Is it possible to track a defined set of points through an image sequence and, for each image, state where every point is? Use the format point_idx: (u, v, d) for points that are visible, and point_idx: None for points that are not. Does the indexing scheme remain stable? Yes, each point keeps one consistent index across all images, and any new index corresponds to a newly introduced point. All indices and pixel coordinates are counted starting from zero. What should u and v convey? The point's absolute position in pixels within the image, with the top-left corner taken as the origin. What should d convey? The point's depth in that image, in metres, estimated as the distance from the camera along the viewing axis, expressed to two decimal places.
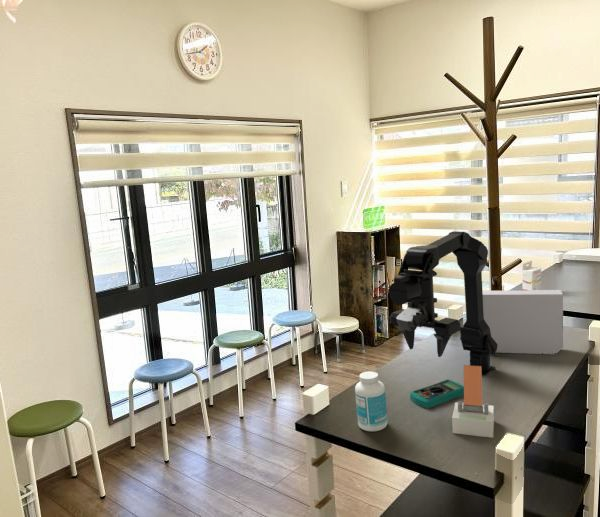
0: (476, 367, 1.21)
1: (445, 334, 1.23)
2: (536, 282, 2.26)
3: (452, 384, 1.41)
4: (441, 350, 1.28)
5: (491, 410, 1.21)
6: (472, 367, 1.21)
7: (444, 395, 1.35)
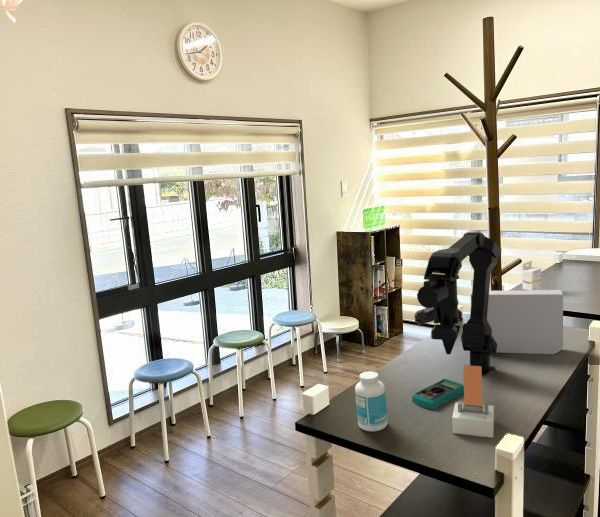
0: (476, 367, 1.21)
1: (431, 337, 1.29)
2: (536, 282, 2.26)
3: (449, 383, 1.42)
4: (446, 348, 1.36)
5: (491, 410, 1.21)
6: (472, 367, 1.21)
7: (446, 394, 1.35)
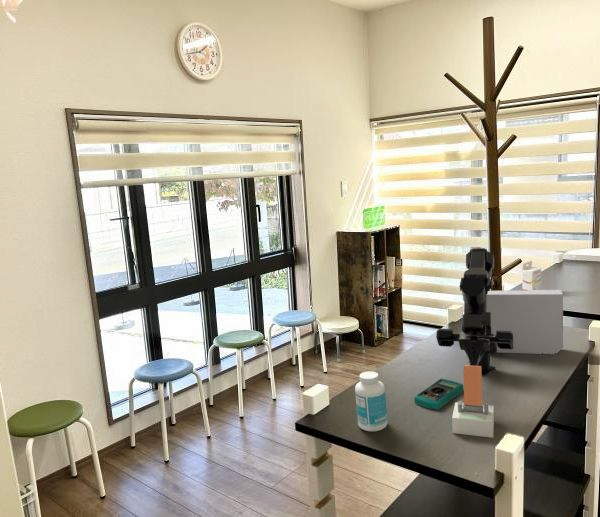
0: (476, 367, 1.21)
1: (510, 338, 1.25)
2: (536, 282, 2.26)
3: (447, 382, 1.43)
4: (477, 362, 1.27)
5: (491, 410, 1.21)
6: (472, 367, 1.21)
7: (448, 394, 1.35)
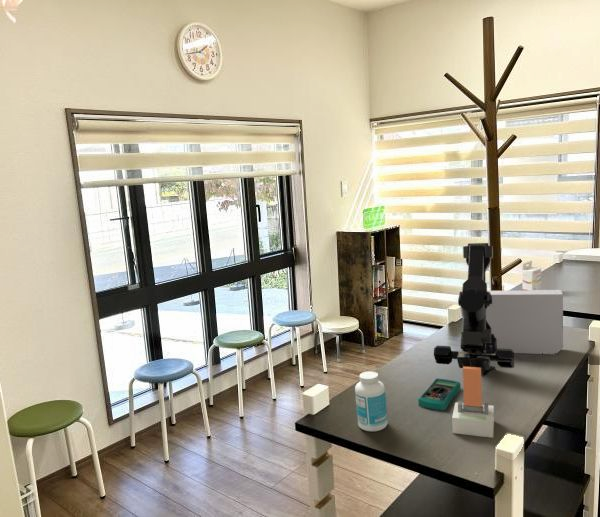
0: (475, 370, 1.19)
1: (511, 356, 1.19)
2: (536, 282, 2.26)
3: (444, 382, 1.43)
4: None
5: (491, 410, 1.21)
6: (471, 370, 1.19)
7: (450, 393, 1.36)
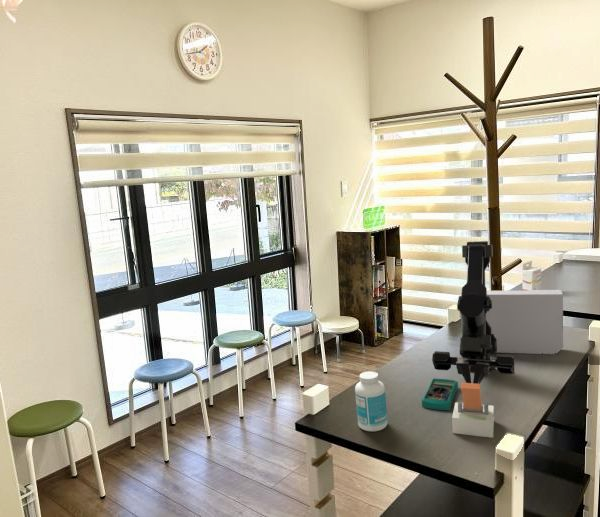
0: (474, 389, 1.14)
1: (511, 363, 1.17)
2: (536, 282, 2.26)
3: (441, 382, 1.44)
4: None
5: (491, 410, 1.21)
6: (470, 389, 1.14)
7: (452, 392, 1.36)
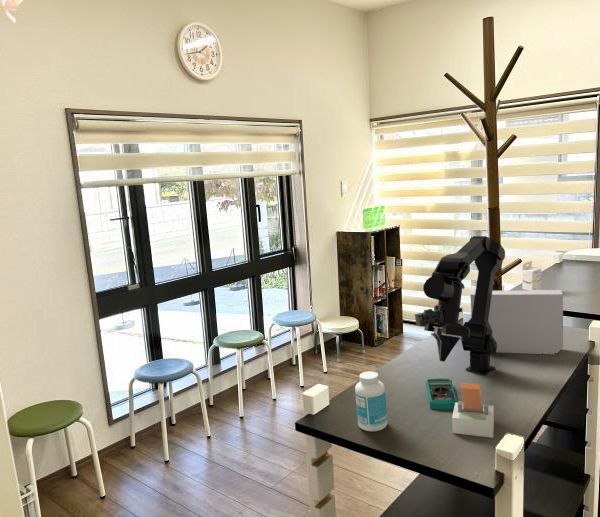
0: (474, 389, 1.14)
1: (445, 332, 1.25)
2: (536, 282, 2.26)
3: (436, 381, 1.44)
4: (442, 354, 1.33)
5: (491, 410, 1.21)
6: (470, 389, 1.14)
7: (453, 391, 1.37)
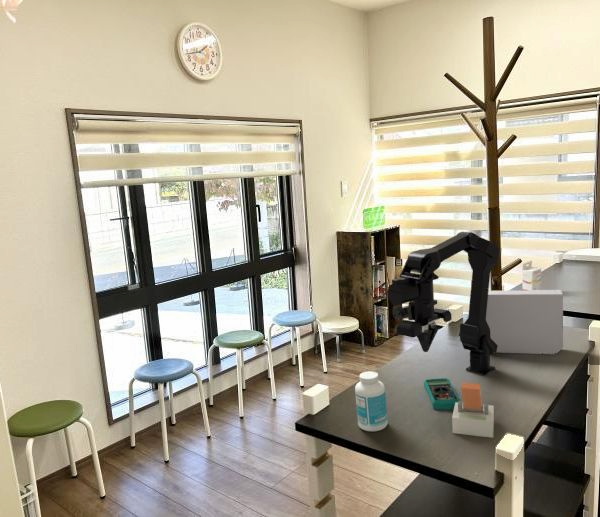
0: (474, 389, 1.14)
1: None
2: (536, 282, 2.26)
3: (434, 382, 1.44)
4: (422, 345, 1.40)
5: (491, 410, 1.21)
6: (470, 389, 1.14)
7: None
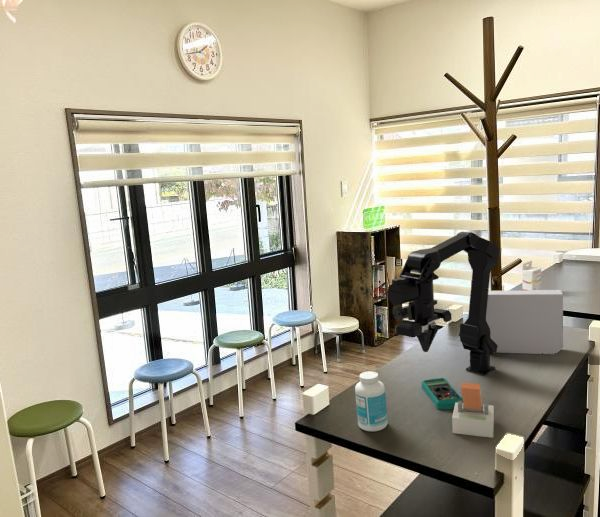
0: (474, 389, 1.14)
1: None
2: (536, 282, 2.26)
3: (432, 382, 1.44)
4: (422, 345, 1.40)
5: (491, 410, 1.21)
6: (470, 389, 1.14)
7: None
